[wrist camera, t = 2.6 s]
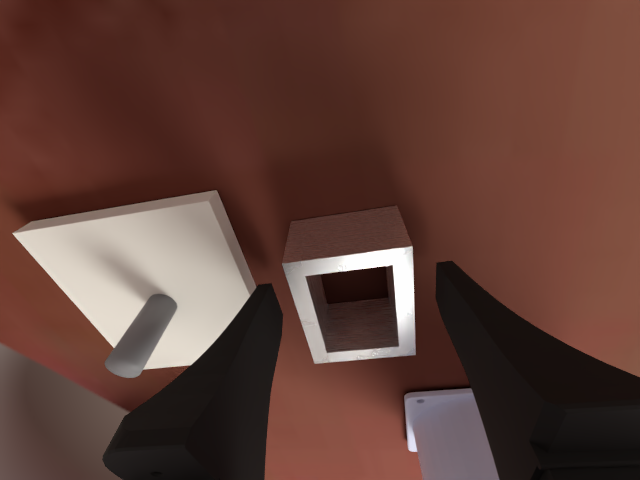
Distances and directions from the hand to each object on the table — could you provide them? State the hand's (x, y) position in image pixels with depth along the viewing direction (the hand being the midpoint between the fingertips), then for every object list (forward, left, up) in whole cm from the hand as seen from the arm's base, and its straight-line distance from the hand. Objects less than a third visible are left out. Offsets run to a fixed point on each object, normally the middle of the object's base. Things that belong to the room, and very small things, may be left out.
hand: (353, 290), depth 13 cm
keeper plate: (+10, 0, -2) cm, 10 cm away
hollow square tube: (0, 0, -2) cm, 2 cm away
